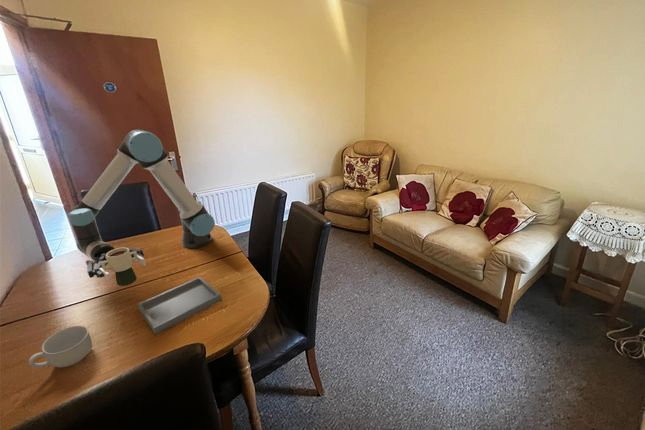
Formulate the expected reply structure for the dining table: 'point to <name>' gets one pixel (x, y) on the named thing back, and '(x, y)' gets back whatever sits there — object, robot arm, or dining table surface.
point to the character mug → (121, 265)
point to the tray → (178, 304)
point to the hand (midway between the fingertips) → (127, 269)
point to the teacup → (64, 347)
